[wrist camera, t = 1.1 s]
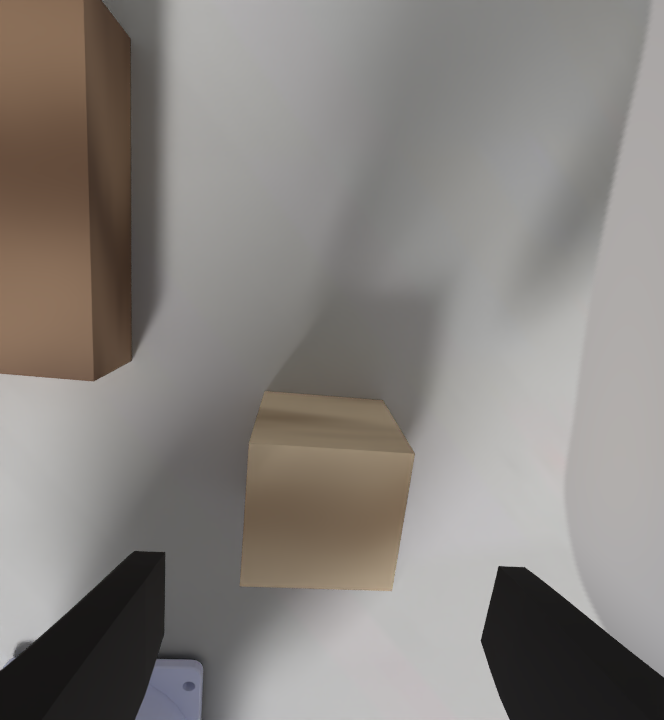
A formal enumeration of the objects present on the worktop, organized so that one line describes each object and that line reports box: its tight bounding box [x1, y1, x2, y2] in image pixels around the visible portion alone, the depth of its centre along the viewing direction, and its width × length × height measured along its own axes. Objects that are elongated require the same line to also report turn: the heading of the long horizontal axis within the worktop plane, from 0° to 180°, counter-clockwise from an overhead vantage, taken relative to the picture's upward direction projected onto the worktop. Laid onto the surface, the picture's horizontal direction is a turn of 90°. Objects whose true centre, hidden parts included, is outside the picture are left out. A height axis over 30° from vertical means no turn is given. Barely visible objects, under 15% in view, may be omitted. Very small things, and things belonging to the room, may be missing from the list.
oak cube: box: [240, 391, 415, 591], centre depth 13 cm, size 4×4×4 cm
